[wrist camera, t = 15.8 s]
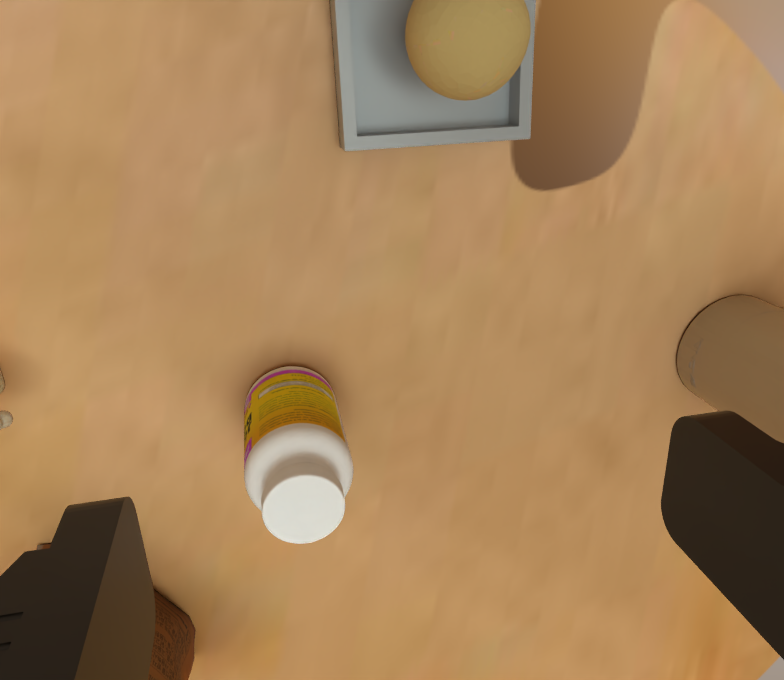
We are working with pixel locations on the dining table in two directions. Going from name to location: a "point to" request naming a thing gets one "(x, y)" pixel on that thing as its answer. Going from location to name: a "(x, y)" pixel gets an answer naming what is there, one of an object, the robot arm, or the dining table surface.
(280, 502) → the supplement bottle
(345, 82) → the tray
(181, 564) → the dining table surface
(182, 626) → the pancake mix bag
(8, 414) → the grandmother figurine
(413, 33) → the light bulb
